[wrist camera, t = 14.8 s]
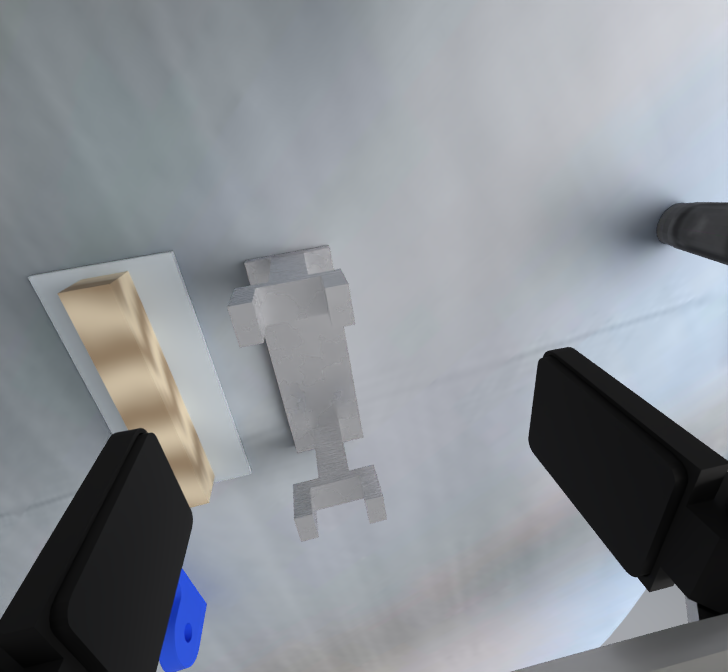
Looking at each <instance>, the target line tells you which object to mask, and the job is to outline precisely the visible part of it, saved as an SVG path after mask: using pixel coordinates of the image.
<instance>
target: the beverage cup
mask: <svg viewBox="0 0 728 672" xmlns="http://www.w3.org/2000/svg"><path fill="white" fill-rule="evenodd" d="M657 237H658V239H659V241H661V242H662V243H665V244H668V245H670V246H673V247H674V248H677V249H680V250H683V251H686V252H689V253H692V254H695V255H699V256H702V257H705V258H708V259H711V260H714V261H717V262H720V263H723V264H726V265H728V203H718V202H695V203H678V204H675V205H673V206H671V207H670V208H669V209H667V210H666V211H665V212H664V214H663V215H662V216H661V218H660V220H659V222H658V225H657Z"/></svg>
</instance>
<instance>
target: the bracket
mask: <svg viewBox="0 0 728 672" xmlns="http://www.w3.org/2000/svg"><path fill="white" fill-rule="evenodd" d="M206 605H207V604H206V602H205V601H204V599H203V598H202V597H201V595H200V594H199V592H198V591H197V589H196V588H195V586H194V585H193V584H192V582H191V581H190V579H189V578H188V576H187V575H186V573H185V572H184V570H183V569H182V570H181V574H180V578H179V582H178V586H177V590H176V594H175V598H174V602H173V606H172V610H171V614H170V618H169V622H168V626H167V630H166V634H165V638H164V642H163V646H162V650H161V654H160V658H159V661H160V664H161V666H162V668H163V670H164V671H165V672H176V671H179V670H182V669H185V668H188V667H190V666H192V665H193V663H194V662H195V660H196V657H197V654H198V651H199V646H200V640H201V634H202V628H203V623H204V617H205V611H206Z"/></svg>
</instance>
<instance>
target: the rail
mask: <svg viewBox="0 0 728 672" xmlns="http://www.w3.org/2000/svg"><path fill="white" fill-rule="evenodd" d="M57 294H58V296H59V298H60V300H61V301H62V303H63V305H64V307H65V309H66V311H67V313H68V315H69V317H70V319H71V321H72V323H73V325H74V327H75V329H76V330H77V332H78V334H79V336H80V338H81V340H82V342H83V344H84V346H85V348H86V350H87V352H88V354H89V356H90V357H91V359H92V361H93V363H94V365H95V367H96V369H97V371H98V373H99V375H100V377H101V379H102V381H103V383H104V384H105V386H106V388H107V390H108V392H109V394H110V396H111V398H112V400H113V402H114V404H115V406H116V408H117V410H118V411H119V413H120V415H121V417H122V419H123V421H124V423H125V425H126V427H127V429H128V430H132V429H137V428H144V429H145V430H146V431H147V432H148V433H154V434H155V435H156V437H157V439H158V441H159V443H160V445H161V447H162V449H163V451H164V453H165V456H166V458H167V460H168V462H169V464H170V466H171V468H172V470H173V473H174V475H175V477H176V479H177V481H178V483H179V485H180V487H181V490H182V492H183V494H184V496H185V498H186V500H187V502H188V504H189V507H190V508H191V507H195V506H199V505H203V504H207V503H209V500H210V495H211V491H212V486H213V482H214V477H215V475H214V473H213V471H212V468H211V466H210V463H209V461H208V459H207V456H206V454H205V452H204V449H203V447H202V444H201V442H200V440H199V437H198V435H197V433H196V430H195V428H194V425H193V423H192V421H191V418H190V416H189V414H188V411H187V409H186V406H185V404H184V402H183V399H182V397H181V395H180V392H179V390H178V387H177V385H176V383H175V380H174V378H173V376H172V373H171V371H170V368H169V366H168V364H167V361H166V359H165V357H164V354H163V352H162V350H161V347H160V345H159V342H158V340H157V338H156V335H155V333H154V331H153V328H152V326H151V323H150V321H149V319H148V316H147V314H146V312H145V309H144V307H143V304H142V302H141V300H140V297H139V295H138V293H137V290H136V288H135V285H134V283H133V281H132V278H131V276H130V274H129V271H126V272H120V273H114V274H109V275H103V276H98V277H92V278H87V279H81V280H80V281H78V282H76V283H74V284H73V285H71V286H69V287H68V288H66V289H64V290H62V291H61V292H59V293H57Z"/></svg>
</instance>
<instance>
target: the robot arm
mask: <svg viewBox="0 0 728 672" xmlns="http://www.w3.org/2000/svg"><path fill="white" fill-rule="evenodd" d="M528 440H529V445H530V448H531V450H532V452H533V453H534V455H535V456H536V457H537V458H538V460H539V461H540V462H541V464H542V465H543V466H544V467H545V469H546V470H547V471H548V472H549V474H550V475H551V476H552V478H553V479H554V480H555V481H556V483H557V484H558V485H559V487H560V488H561V489H562V490H563V492H564V493H565V494H566V495H567V497H568V498H569V499H570V501H571V502H572V503H573V504H574V506H575V507H576V508H577V510H578V511H579V512H580V513H581V515H582V516H583V517H584V518H585V520H586V521H587V522H588V524H589V525H590V526H591V527H592V529H593V530H594V531H595V533H596V534H597V535H598V536H599V538H600V539H601V540H602V541H603V543H604V544H605V545H606V547H607V548H608V549H609V550H610V552H611V553H612V554H613V556H614V557H615V558H616V559H617V561H618V562H619V563H620V564H621V566H622V567H623V568H624V569H625V571H626V572H627V573H628V574H630V575H631V576H633V577H638V579H639V580H640V581H641V582H642V584H643V585H644V586H645V587H646V589H647V590H648V591H649V592H652V591H656V590H660V589H663V588H667V587H671V586H673V585H674V583H675V584H676V585H677V586H678V588H679V589H680V590H681V591H682V592H683V593H684V595H685V599H686V607H687V616H688V624H683V625H680V626H676V627H672V628H668V629H665V630H661V631H658V632H654V633H650V634H646V635H643V636H639V637H636V638H632V639H629V640H624V641H621V642H617V643H614V644H610V645H607V646H603V647H599V648H595V649H592V650H588V651H584V652H581V653H577V654H573V655H570V656H566V657H562V658H559V659H555V660H551V661H548V662H544V663H540V664H537V665H533V666H530V667H526V668H523V669H519V670H515V671H512V672H728V472H727V471H728V461H727V460H726V459H724V458H723V457H722V456H720V455H719V454H718V453H716V452H715V451H713V450H712V449H711V448H709V447H708V446H707V445H705V444H704V443H703V442H701V441H700V440H698V439H697V438H696V437H694V436H693V435H692V434H690V433H689V432H687V431H686V430H685V429H683V428H682V427H681V426H679V425H678V424H676V423H675V422H674V421H672V420H671V419H670V418H668V417H667V416H666V415H664V414H663V413H661V412H660V411H659V410H657V409H656V408H655V407H653V406H652V405H650V404H649V403H648V402H646V401H645V400H644V399H642V398H641V397H640V396H638V395H637V394H635V393H634V392H633V391H631V390H630V389H629V388H627V387H626V386H624V385H623V384H622V383H620V382H619V381H618V380H616V379H615V378H613V377H612V376H611V375H609V374H608V373H607V372H605V371H604V370H603V369H601V368H600V367H598V366H597V365H596V364H594V363H593V362H592V361H590V360H589V359H587V358H586V357H585V356H583V355H582V354H581V353H579V352H578V351H576V350H575V349H573V348H571V347H566V348H561V349H555V350H550V351H547V352H545V354H544V356H543V358H541V359H540V360H539V361H538V366H537V374H536V382H535V390H534V398H533V406H532V414H531V421H530V429H529V437H528ZM192 524H193V516H192V511H191V509H190V507H189V504H188V502H187V500H186V498H185V496H184V494H183V492H182V490H181V487H180V485H179V483H178V481H177V479H176V477H175V475H174V473H173V470H172V468H171V466H170V464H169V462H168V460H167V458H166V456H165V453H164V451H163V449H162V447H161V445H160V443H159V441H158V439H157V437H156V435H155V434H154V433H148V432H147V431H146V430H145V429H144V428H137V429H132V430H127V431H121V432H116V433H114V434H112V435H111V437H110V438H109V440H108V441H107V443H106V445H105V446H104V448H103V450H102V451H101V453H100V455H99V456H98V458H97V460H96V461H95V463H94V465H93V466H92V468H91V470H90V471H89V473H88V475H87V476H86V478H85V480H84V481H83V483H82V485H81V486H80V488H79V490H78V491H77V493H76V495H75V496H74V498H73V500H72V501H71V503H70V505H69V506H68V508H67V510H66V511H65V513H64V515H63V516H62V518H61V520H60V521H59V523H58V525H57V526H56V528H55V530H54V531H53V533H52V534H51V536H50V538H49V539H48V541H47V543H46V544H45V546H44V548H43V549H42V551H41V553H40V554H39V556H38V558H37V559H36V561H35V563H34V564H33V566H32V568H31V569H30V571H29V573H28V574H27V576H26V578H25V579H24V581H23V583H22V584H21V586H20V588H19V589H18V591H17V593H16V594H15V596H14V598H13V599H12V601H11V603H10V604H9V606H8V608H7V609H6V611H5V613H4V614H3V616H2V618H1V619H0V672H156V670H157V666H158V662H159V658H160V654H161V650H162V646H163V642H164V638H165V634H166V630H167V626H168V622H169V618H170V614H171V610H172V606H173V602H174V598H175V594H176V590H177V586H178V582H179V578H180V574H181V570H182V566H183V562H184V558H185V554H186V550H187V545H188V541H189V537H190V533H191V529H192Z"/></svg>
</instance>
